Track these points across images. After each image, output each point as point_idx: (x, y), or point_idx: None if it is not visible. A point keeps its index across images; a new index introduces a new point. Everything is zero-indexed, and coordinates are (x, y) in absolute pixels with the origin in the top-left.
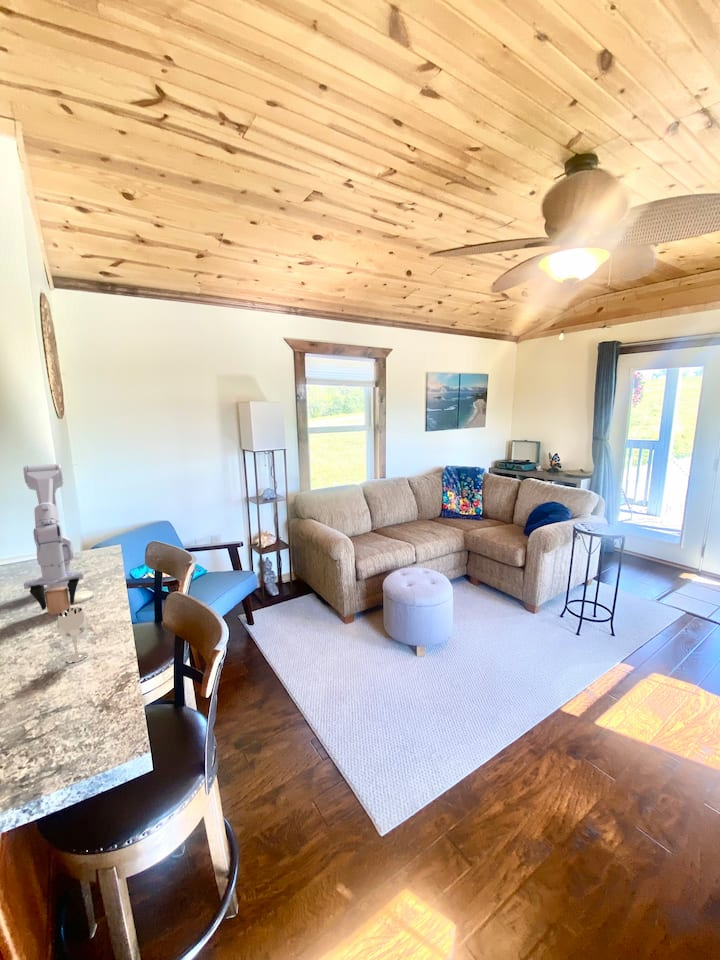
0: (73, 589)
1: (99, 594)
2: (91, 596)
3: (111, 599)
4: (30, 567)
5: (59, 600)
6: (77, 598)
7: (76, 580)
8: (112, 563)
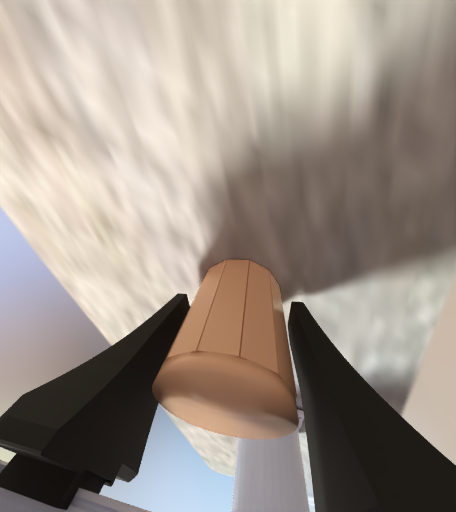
0: (94, 362)
1: None
2: None
3: (86, 288)
4: None
5: (207, 308)
6: None
7: (21, 462)
8: (191, 440)
